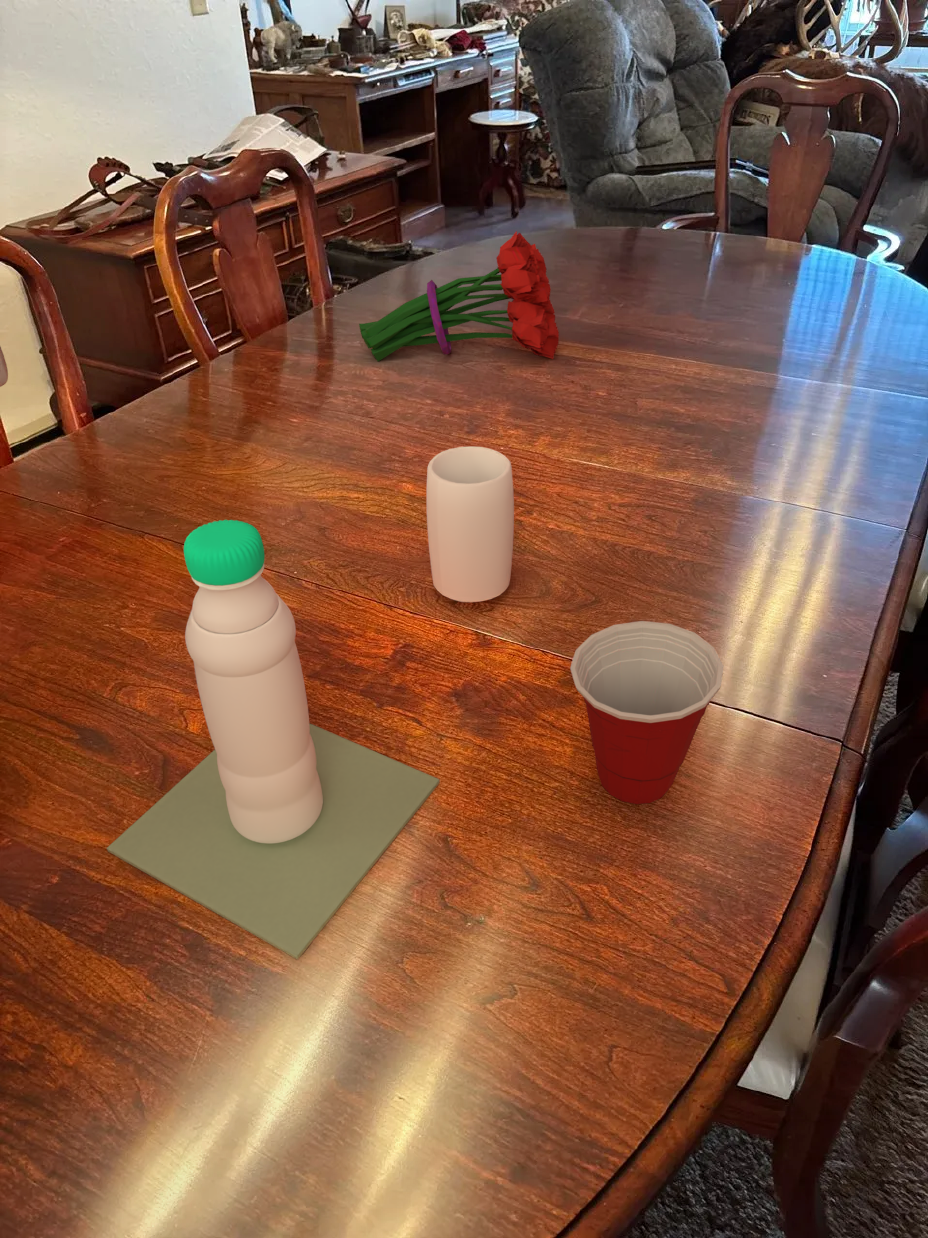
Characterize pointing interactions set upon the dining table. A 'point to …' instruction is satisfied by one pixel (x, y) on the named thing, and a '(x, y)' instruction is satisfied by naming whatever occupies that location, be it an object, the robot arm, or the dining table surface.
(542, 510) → the dining table surface
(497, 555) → the cup
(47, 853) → the dining table surface
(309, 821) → the water bottle
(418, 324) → the bouquet
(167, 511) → the dining table surface
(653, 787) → the plastic cup
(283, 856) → the mat
